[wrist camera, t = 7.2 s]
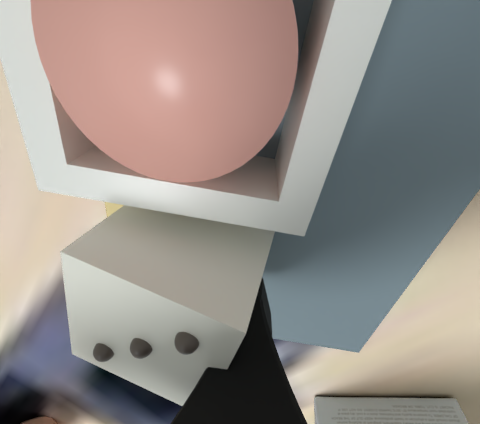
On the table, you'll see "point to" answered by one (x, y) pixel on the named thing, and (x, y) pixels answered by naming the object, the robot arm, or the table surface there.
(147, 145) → the button
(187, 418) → the robot arm
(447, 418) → the supplement box
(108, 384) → the table surface
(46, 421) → the medical training model
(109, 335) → the die
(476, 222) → the table surface
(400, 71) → the board
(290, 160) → the collar
